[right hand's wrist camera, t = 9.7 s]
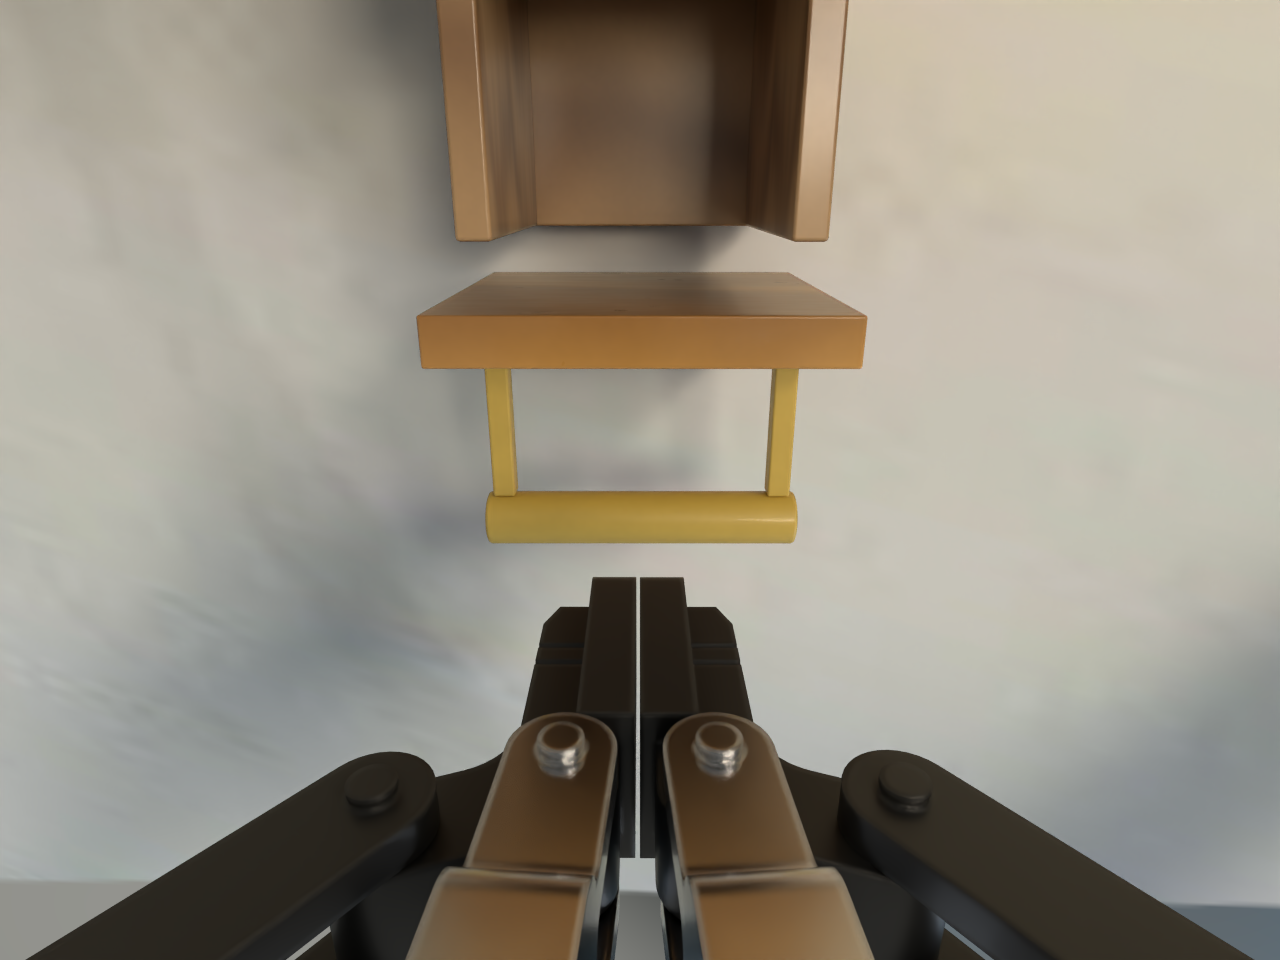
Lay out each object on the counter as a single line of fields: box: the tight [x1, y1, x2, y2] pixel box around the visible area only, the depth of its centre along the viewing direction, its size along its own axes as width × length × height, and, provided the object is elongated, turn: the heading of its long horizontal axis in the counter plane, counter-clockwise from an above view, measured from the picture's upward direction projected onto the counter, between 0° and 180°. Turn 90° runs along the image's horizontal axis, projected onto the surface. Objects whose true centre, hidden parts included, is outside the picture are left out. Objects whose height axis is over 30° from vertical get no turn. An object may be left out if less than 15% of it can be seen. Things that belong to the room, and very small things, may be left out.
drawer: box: [416, 0, 867, 543], centre depth 20 cm, size 22×10×9 cm, turn 0°
